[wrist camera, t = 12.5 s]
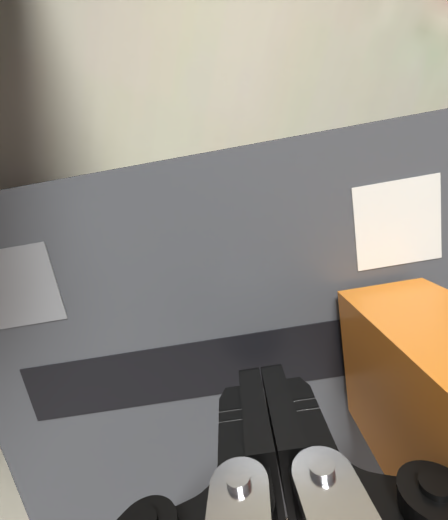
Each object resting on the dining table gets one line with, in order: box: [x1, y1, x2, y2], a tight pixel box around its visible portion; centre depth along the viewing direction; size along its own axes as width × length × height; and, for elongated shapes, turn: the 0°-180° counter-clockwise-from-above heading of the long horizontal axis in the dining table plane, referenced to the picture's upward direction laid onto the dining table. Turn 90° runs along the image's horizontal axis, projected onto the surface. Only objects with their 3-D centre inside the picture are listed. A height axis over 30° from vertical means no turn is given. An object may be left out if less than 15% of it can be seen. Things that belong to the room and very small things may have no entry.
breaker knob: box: [337, 278, 448, 476], centre depth 9 cm, size 3×5×6 cm, turn 10°
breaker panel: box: [0, 108, 448, 520], centre depth 14 cm, size 20×16×3 cm
